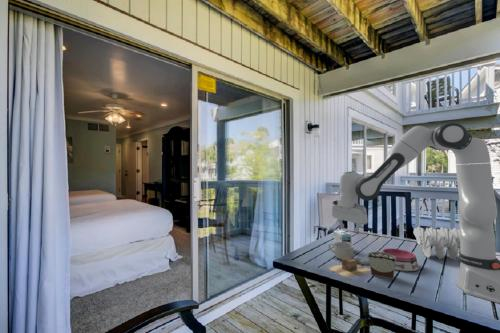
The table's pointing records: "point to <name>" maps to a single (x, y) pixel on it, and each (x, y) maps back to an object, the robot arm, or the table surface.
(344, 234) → the light bulb box
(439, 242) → the spiral staircase
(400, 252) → the dog bowl
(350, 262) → the walnut block
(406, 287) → the table surface
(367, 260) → the grey rounded dome
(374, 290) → the table surface
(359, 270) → the oak board
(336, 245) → the teacup
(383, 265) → the food container
